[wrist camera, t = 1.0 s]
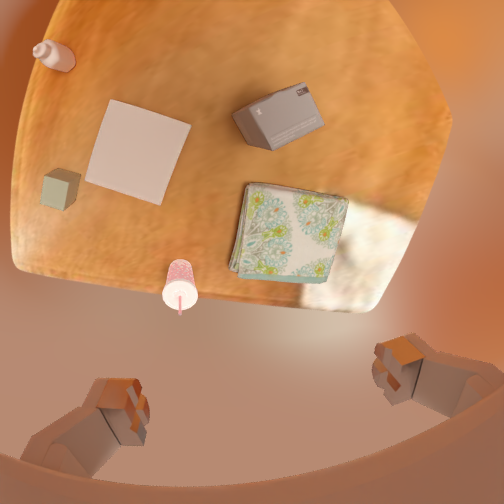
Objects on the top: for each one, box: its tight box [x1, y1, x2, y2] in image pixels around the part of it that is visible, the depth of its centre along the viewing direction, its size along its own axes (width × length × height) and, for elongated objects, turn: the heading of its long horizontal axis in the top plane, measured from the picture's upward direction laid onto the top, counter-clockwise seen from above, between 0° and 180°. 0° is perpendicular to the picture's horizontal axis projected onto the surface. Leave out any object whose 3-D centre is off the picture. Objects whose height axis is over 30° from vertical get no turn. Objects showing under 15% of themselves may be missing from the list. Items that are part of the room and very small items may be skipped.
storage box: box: [85, 99, 192, 205], centre depth 42 cm, size 13×13×6 cm
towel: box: [229, 183, 349, 284], centre depth 55 cm, size 18×21×5 cm
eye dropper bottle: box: [33, 39, 76, 72], centre depth 28 cm, size 4×6×12 cm
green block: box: [40, 168, 81, 211], centre depth 41 cm, size 5×5×6 cm
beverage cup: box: [162, 259, 198, 315], centre depth 50 cm, size 6×6×14 cm
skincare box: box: [232, 82, 325, 151], centre depth 39 cm, size 8×7×16 cm
